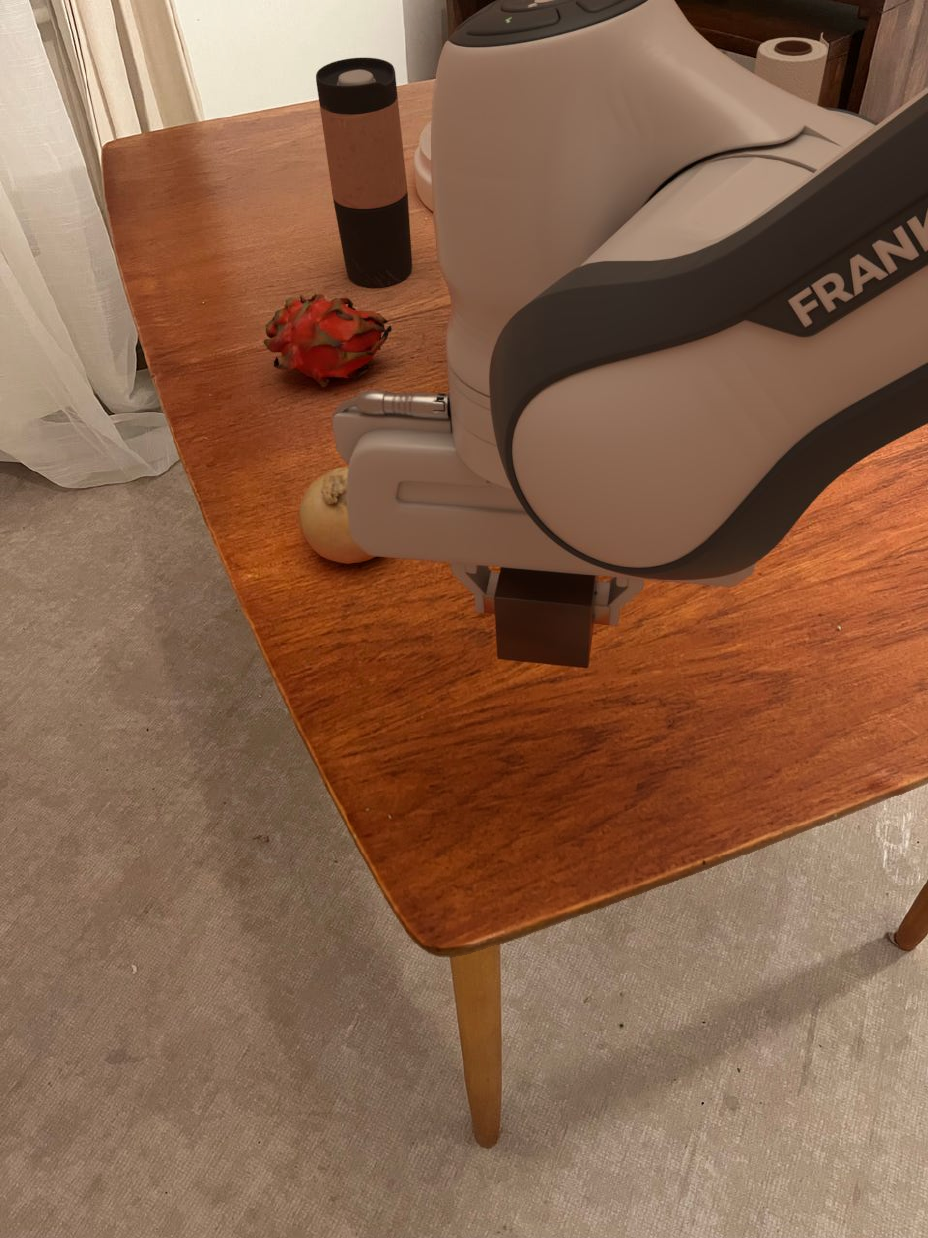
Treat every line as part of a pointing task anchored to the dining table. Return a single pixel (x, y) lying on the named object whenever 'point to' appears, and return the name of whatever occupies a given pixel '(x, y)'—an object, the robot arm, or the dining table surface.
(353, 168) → the travel mug
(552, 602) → the block
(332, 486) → the onion
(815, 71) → the paper towel roll
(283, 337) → the dragon fruit
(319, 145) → the dining table surface
